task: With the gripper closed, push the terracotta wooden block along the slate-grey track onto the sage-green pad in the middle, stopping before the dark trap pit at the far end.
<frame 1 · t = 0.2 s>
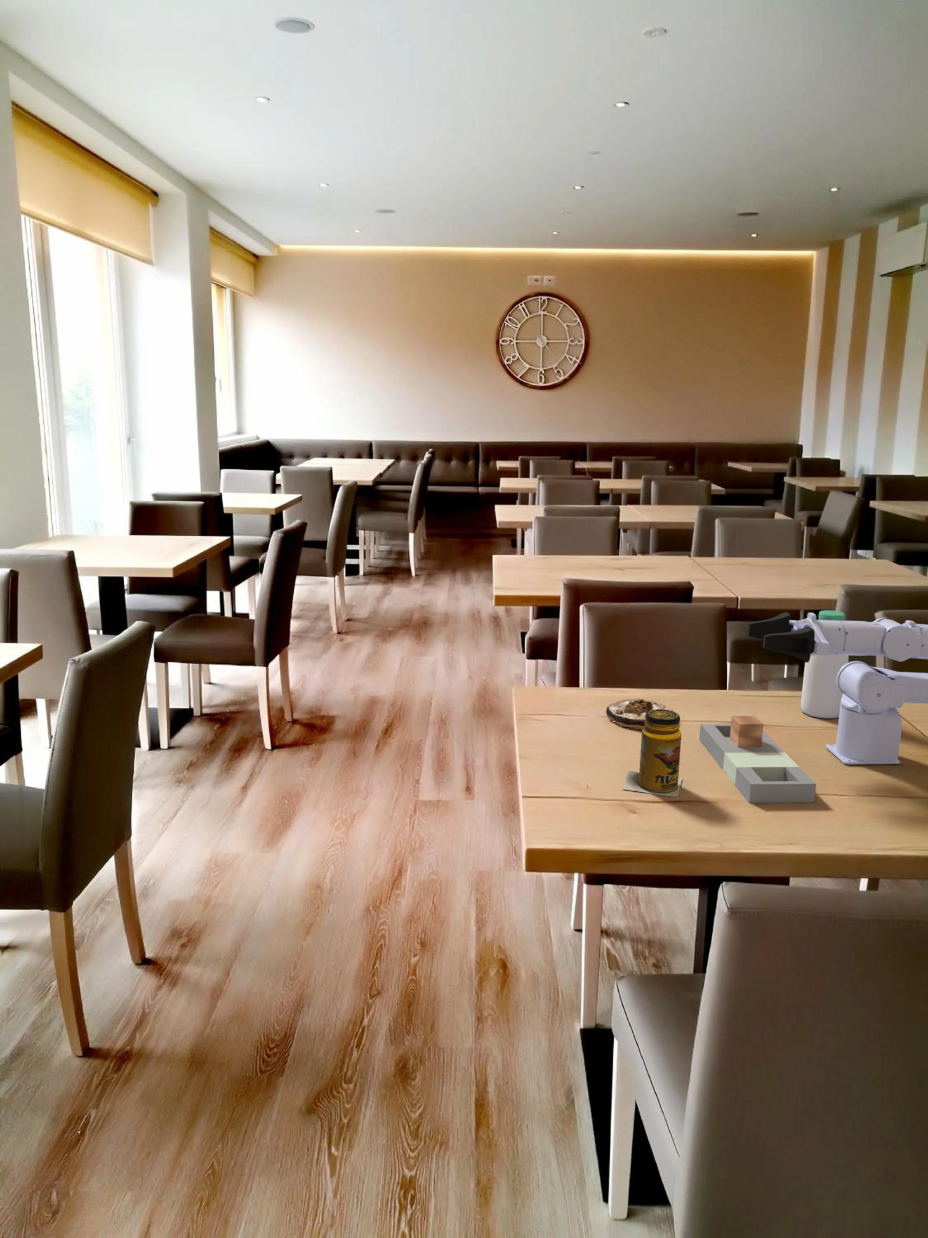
hand: (756, 635, 154), 21 cm above the table, tool horizontal, fingers open, 7 cm apart
milk bottle: (821, 713, 181), on the table
plate of food: (640, 722, 177), on the table
condiment: (652, 786, 147), on the table
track: (752, 768, 154), on the table
block: (745, 742, 157), point 3 cm above the table, touching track
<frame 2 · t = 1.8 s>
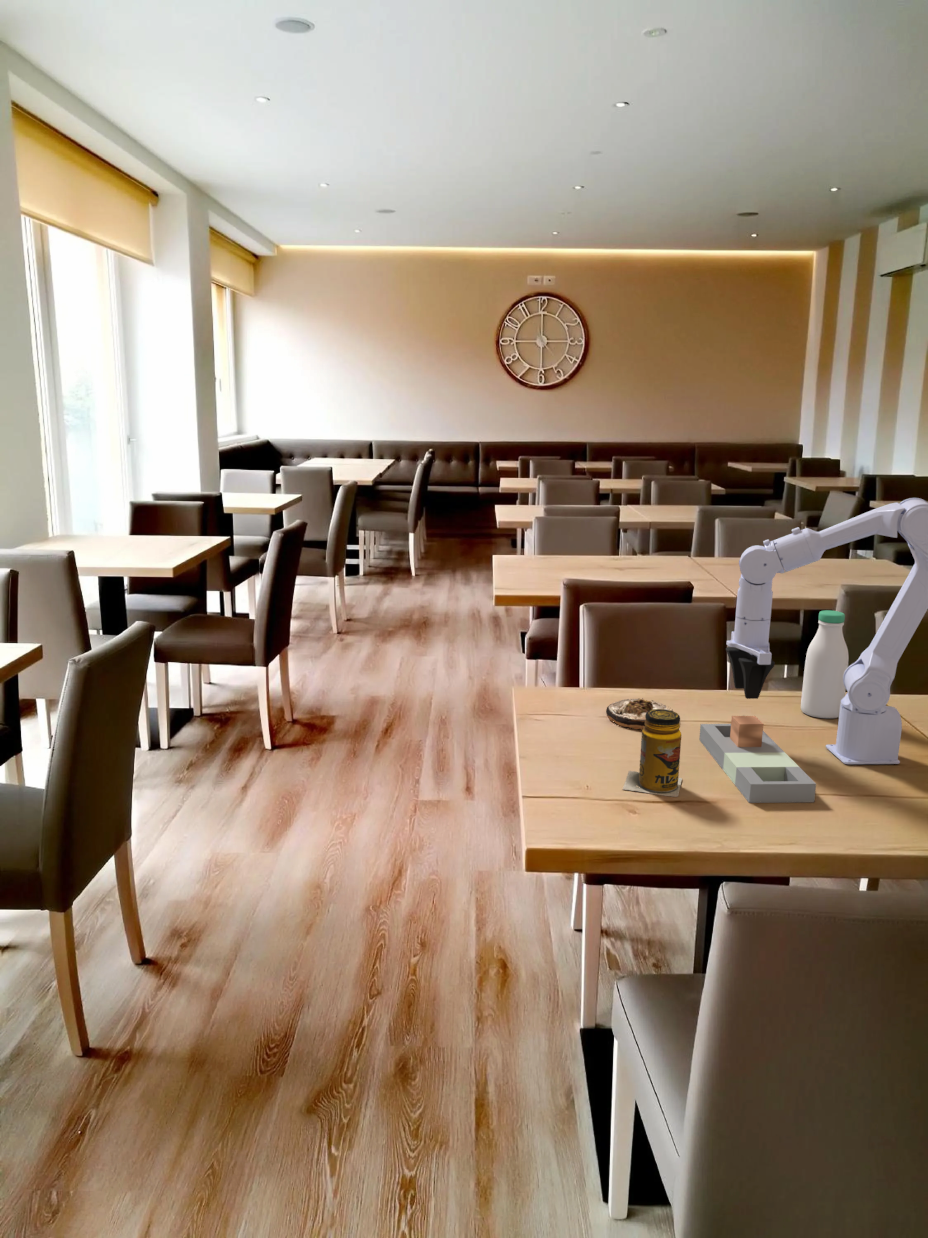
hand: (746, 693, 163), 9 cm above the table, tool pointing down, fingers open, 5 cm apart
nothing on the table moved.
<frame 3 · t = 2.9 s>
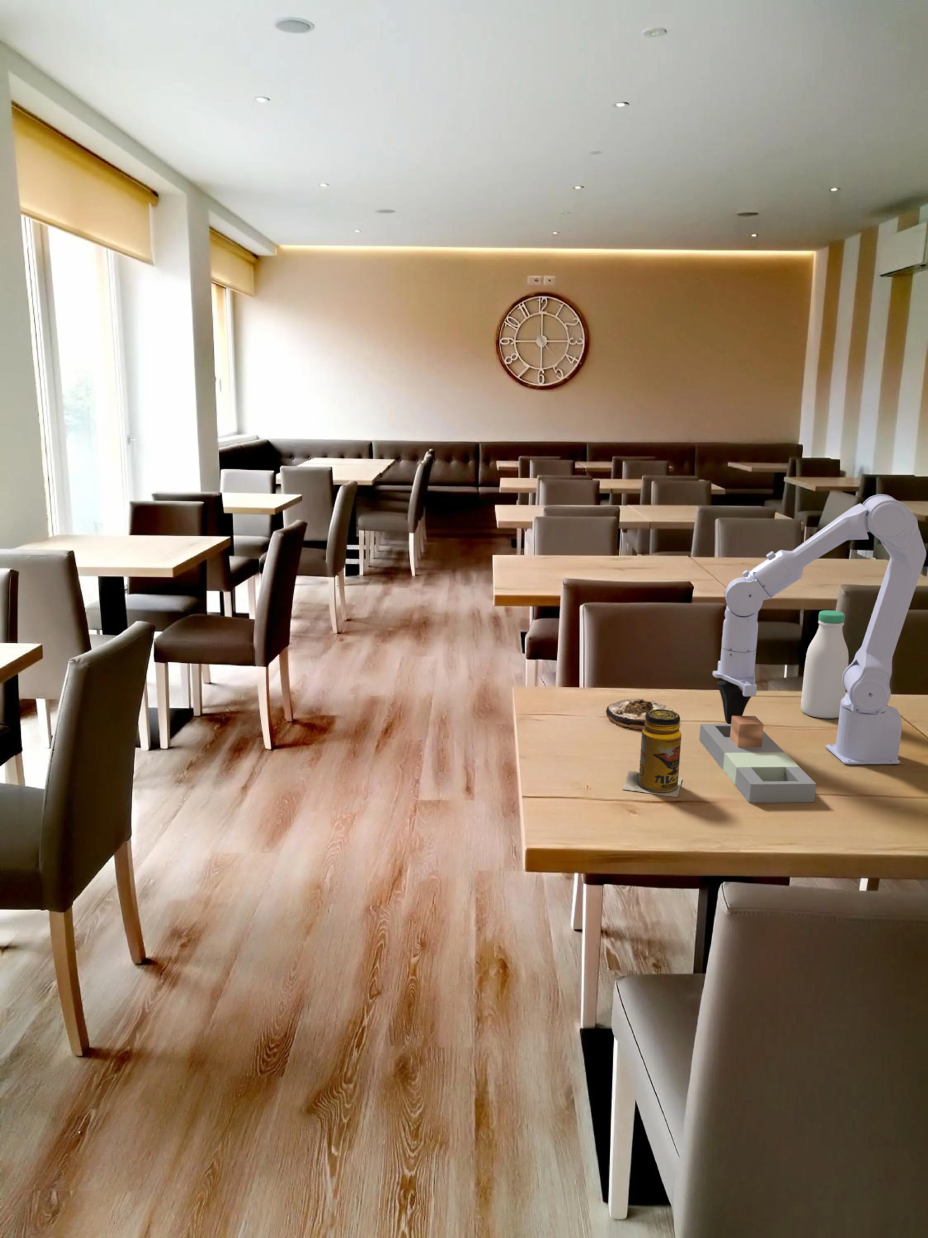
hand: (732, 722, 164), 4 cm above the table, tool pointing down, fingers closed
nothing on the table moved.
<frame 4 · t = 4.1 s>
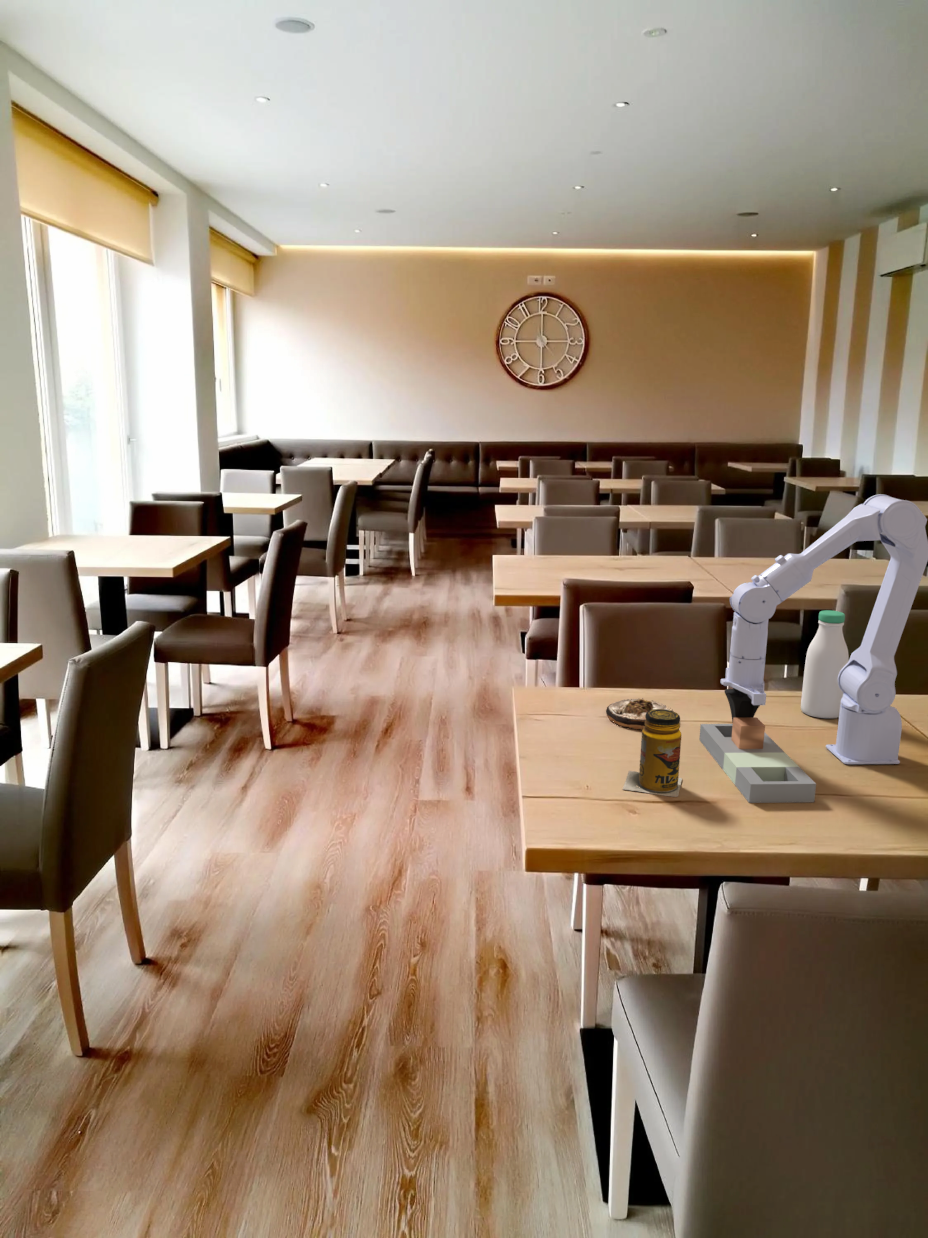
hand: (740, 732, 159), 4 cm above the table, tool pointing down, fingers closed
block: (746, 744, 156), point 3 cm above the table, touching gripper
everything else where it was.
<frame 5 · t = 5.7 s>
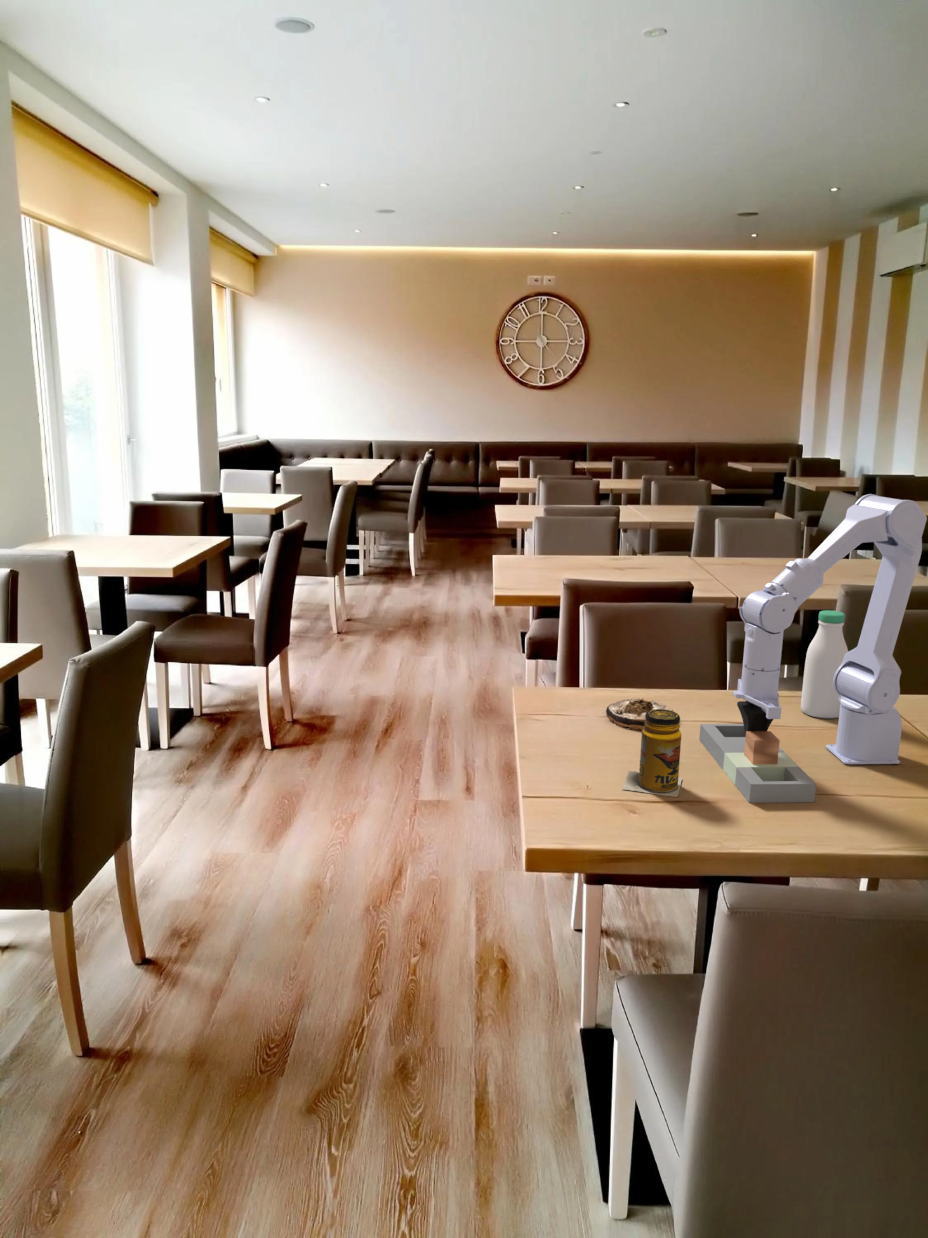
hand: (753, 746, 153), 4 cm above the table, tool pointing down, fingers closed
block: (760, 759, 150), point 3 cm above the table, touching gripper, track
everything else where it was.
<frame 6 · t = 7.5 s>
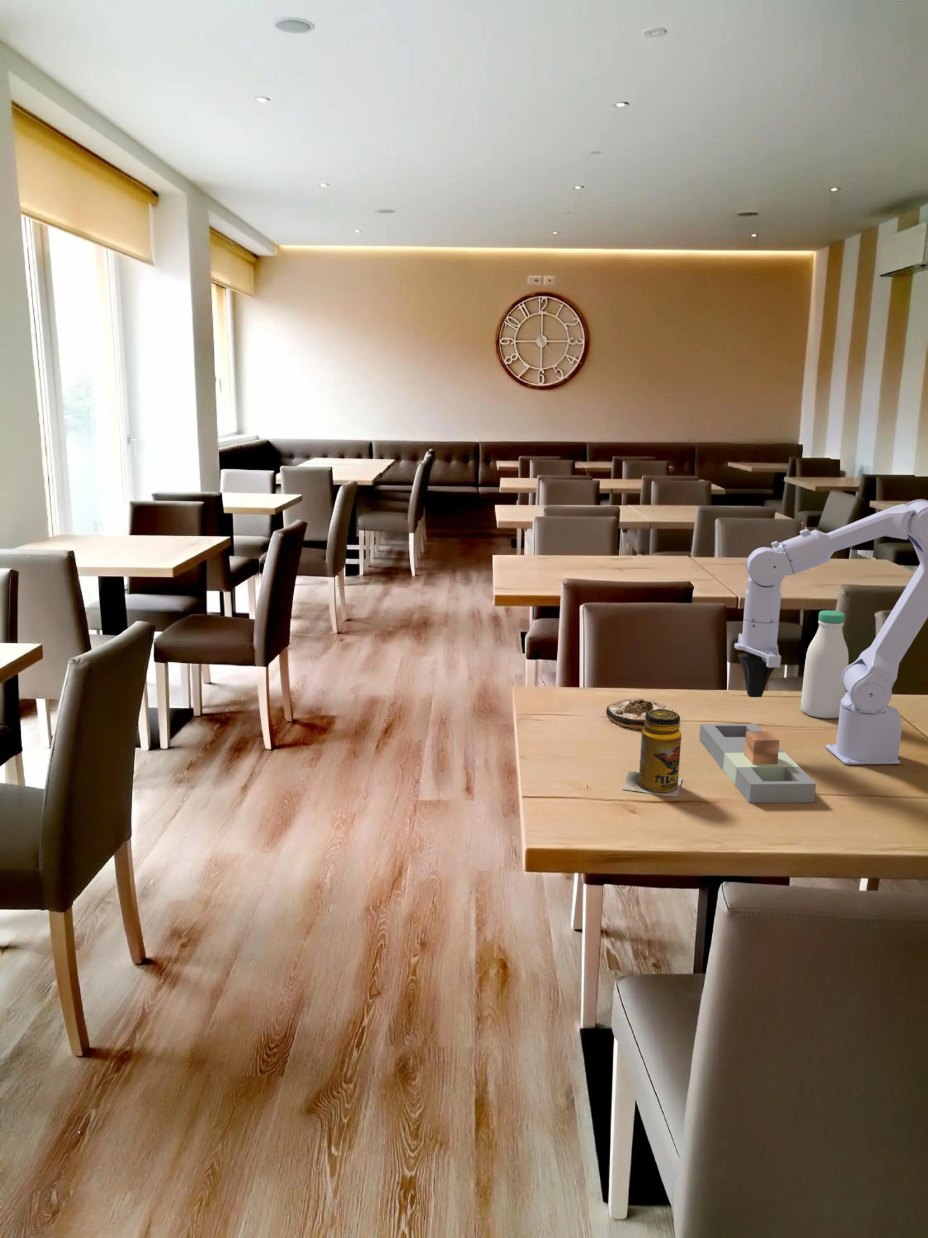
hand: (754, 696, 161), 9 cm above the table, tool pointing down, fingers closed
block: (760, 759, 150), point 3 cm above the table, touching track
everything else where it was.
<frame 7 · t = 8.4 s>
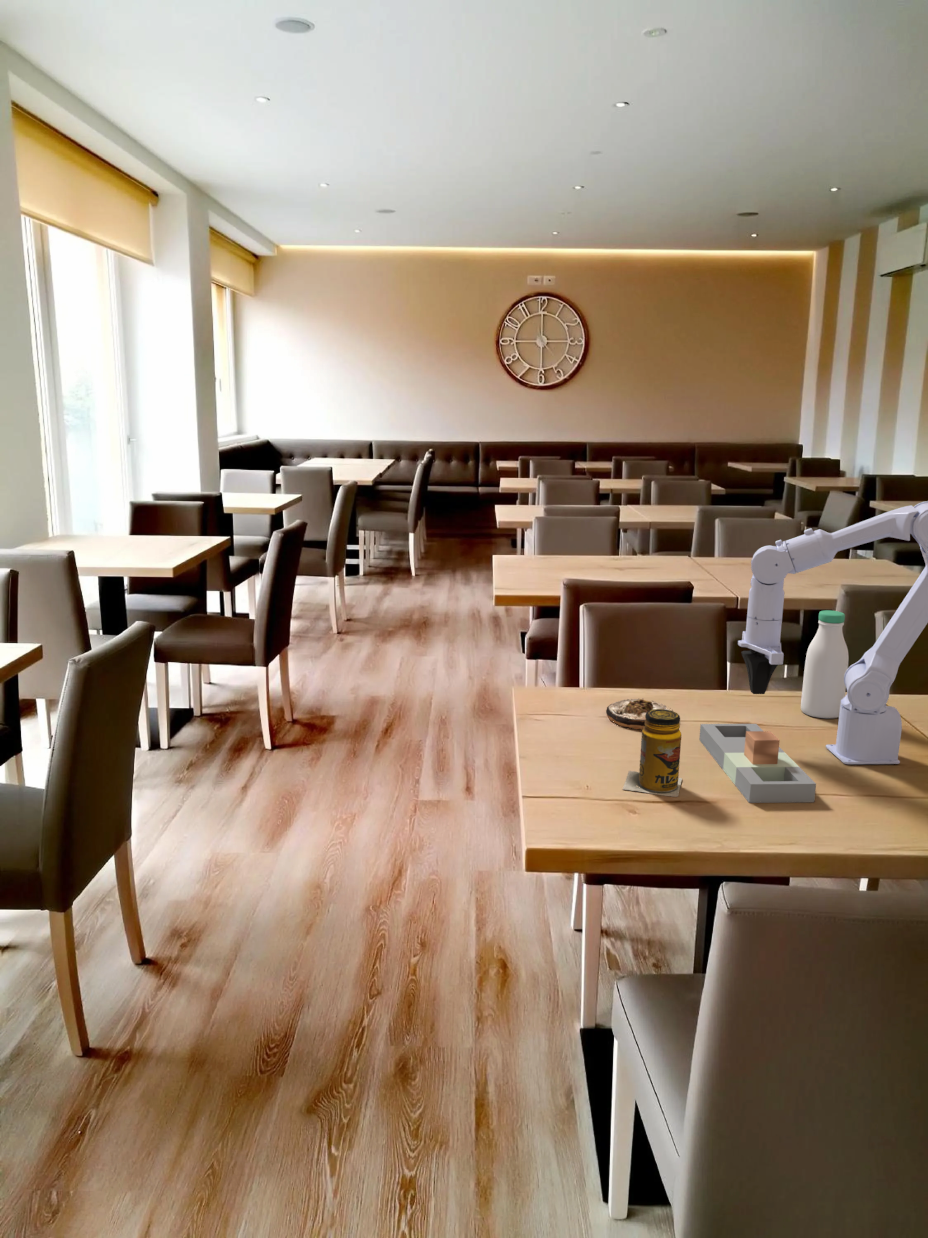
hand: (757, 693, 163), 9 cm above the table, tool pointing down, fingers closed
nothing on the table moved.
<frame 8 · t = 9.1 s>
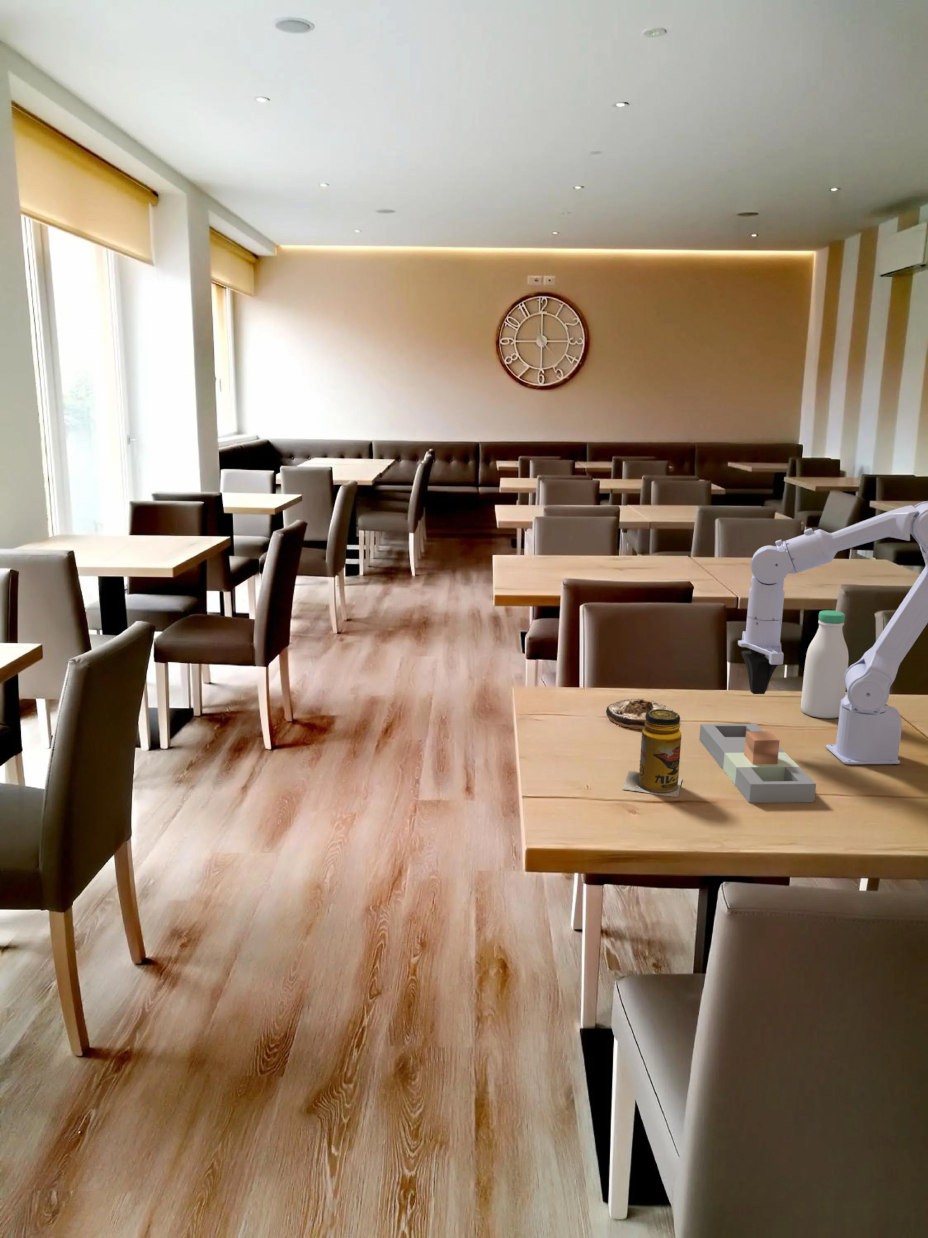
hand: (757, 693, 163), 9 cm above the table, tool pointing down, fingers closed
nothing on the table moved.
at the end: block 0.1 cm from the target spot on the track, point 3.0 cm above the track's base; block tilted 0°; block moved 7.3 cm from its start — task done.
